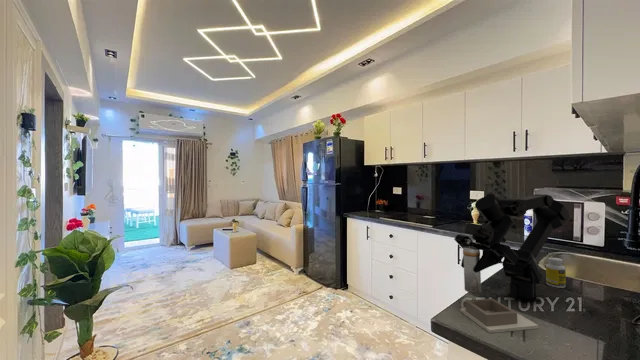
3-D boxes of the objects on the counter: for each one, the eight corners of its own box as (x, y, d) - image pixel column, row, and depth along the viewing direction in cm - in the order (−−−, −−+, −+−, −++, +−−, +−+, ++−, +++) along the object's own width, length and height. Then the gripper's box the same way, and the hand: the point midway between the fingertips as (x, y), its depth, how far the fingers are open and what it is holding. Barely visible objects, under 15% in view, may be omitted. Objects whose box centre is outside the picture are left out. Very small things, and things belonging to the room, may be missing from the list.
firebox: (502, 307, 82) (502, 295, 82) (538, 328, 70) (537, 313, 70) (460, 311, 81) (459, 298, 81) (489, 333, 69) (489, 318, 69)
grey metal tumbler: (475, 287, 84) (473, 245, 84) (485, 293, 79) (483, 249, 79) (461, 287, 84) (459, 246, 84) (470, 293, 79) (468, 250, 79)
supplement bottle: (561, 289, 94) (560, 261, 94) (543, 284, 99) (542, 258, 99) (569, 286, 96) (568, 259, 97) (551, 281, 101) (550, 256, 101)
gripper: (457, 210, 92) (431, 245, 89) (508, 216, 74) (477, 260, 71) (477, 231, 94) (452, 266, 91) (531, 242, 76) (502, 286, 73)
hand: (468, 269), depth 81 cm, fingers closed on grey metal tumbler, 4 cm apart
